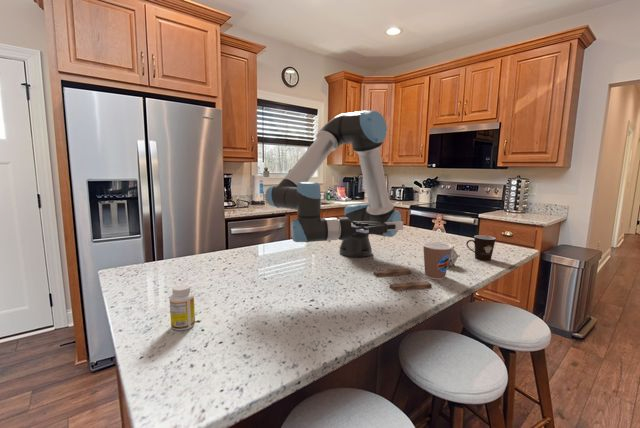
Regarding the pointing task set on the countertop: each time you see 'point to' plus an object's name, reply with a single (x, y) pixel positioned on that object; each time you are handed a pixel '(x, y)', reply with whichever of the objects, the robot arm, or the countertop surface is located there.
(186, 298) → the supplement bottle
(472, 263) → the countertop surface
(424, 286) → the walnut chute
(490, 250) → the coffee mug
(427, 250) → the coffee cup
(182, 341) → the countertop surface
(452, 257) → the game die
